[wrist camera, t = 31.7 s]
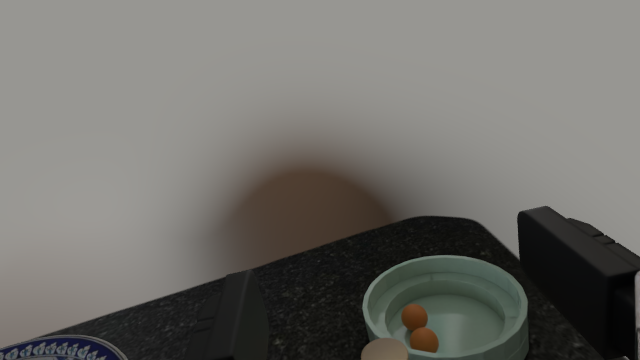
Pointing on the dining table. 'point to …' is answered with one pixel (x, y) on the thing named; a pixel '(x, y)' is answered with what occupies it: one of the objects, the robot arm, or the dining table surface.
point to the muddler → (385, 350)
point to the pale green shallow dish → (452, 308)
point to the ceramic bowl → (62, 349)
